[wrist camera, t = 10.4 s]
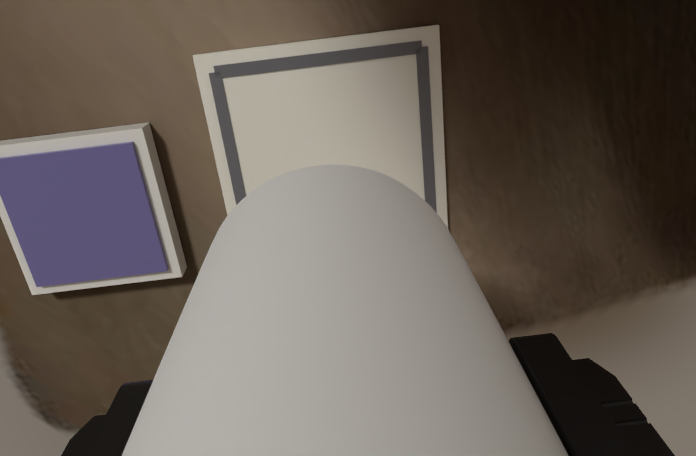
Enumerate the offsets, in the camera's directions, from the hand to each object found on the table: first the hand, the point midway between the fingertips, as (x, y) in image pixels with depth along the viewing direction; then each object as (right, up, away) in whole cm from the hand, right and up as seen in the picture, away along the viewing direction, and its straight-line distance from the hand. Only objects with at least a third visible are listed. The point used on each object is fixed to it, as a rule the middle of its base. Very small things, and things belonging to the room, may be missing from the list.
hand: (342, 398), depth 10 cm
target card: (-1, +6, +14) cm, 16 cm away
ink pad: (-11, +4, +15) cm, 19 cm away
